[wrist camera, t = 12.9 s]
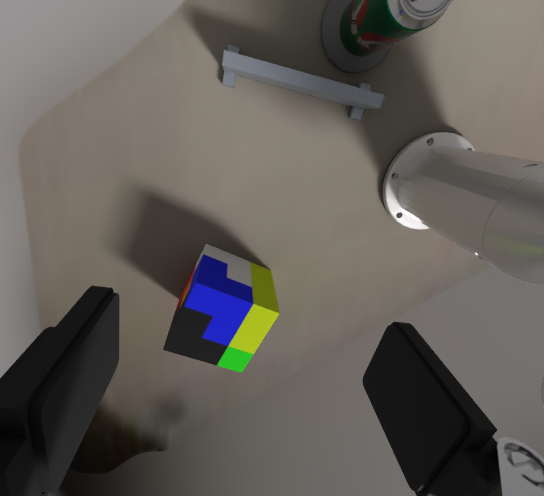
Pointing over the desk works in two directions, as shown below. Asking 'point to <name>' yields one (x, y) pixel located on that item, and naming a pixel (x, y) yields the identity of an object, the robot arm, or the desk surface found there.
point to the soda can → (385, 22)
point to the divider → (299, 82)
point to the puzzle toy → (223, 310)
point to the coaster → (334, 43)
